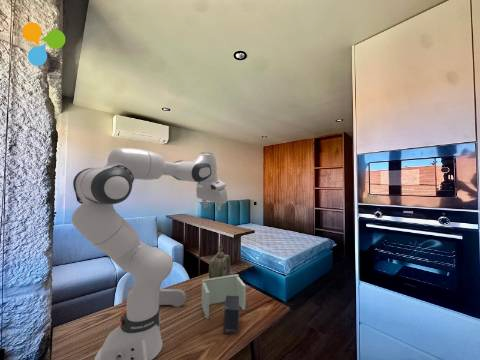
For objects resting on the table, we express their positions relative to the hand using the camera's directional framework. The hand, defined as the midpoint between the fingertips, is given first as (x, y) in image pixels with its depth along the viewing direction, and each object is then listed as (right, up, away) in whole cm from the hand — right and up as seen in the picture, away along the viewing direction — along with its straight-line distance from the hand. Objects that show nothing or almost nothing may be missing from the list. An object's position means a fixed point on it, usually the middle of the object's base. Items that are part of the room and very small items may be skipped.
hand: (212, 208), depth 108 cm
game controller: (-23, -50, -4) cm, 55 cm away
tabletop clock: (+2, -50, +17) cm, 53 cm away
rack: (+6, -50, -5) cm, 50 cm away
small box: (+11, -50, -18) cm, 54 cm away
